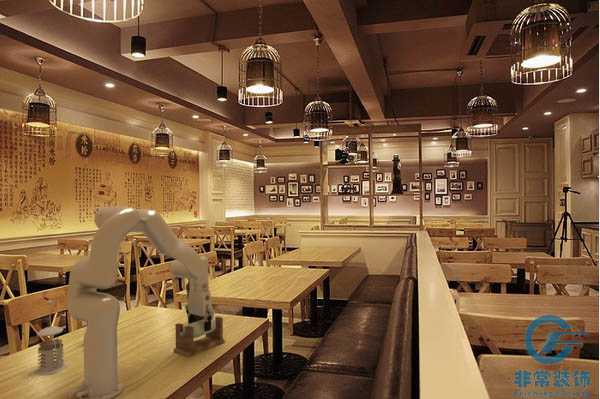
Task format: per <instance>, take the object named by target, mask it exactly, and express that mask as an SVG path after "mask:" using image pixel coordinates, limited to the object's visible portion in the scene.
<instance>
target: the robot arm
mask: <svg viewBox="0 0 600 399" xmlns="http://www.w3.org/2000/svg"><path fill="white" fill-rule="evenodd" d="M93 221H94V224H95V226H96V227H97V228H98V229H97V230H96V231H95V233H94V234H93V238H91V240H92V241H91V245H90V251H89V256H86V257H82V258H80V259H78V260H77V261H76V262H75V263H74V264H73V266H72V268H71V269H70V272H69V276H68V277H69V279H68V289H67V301H66V302H67V304H66V306H67V311H68V312H67V313H68V314H69V315H70V317H71V318H72V319H74V320H76V321H80V322H85V323H87V322H88V326H87V325H86V329H85V332H84V336H83V374H84V375H83V376H84V377H83V378H84V380H83V381H81V382H80V385H79V386H77V388H74V389H71V390H68V391H67V397H68V398H69V399H70V398H72V397H76V398H78V399H113V398H115V397H117V396H118V395H120V394H121V393H122V391H123V390H124V384H123V383H122V382H120V381H119V379H118V378H119V377H118V375H119V374H118V372H119V370H118V368H119V367H118V324H119V317H120V312H121V307H120V306H121V305H120V302H119V301H118V298H116V297H115V296H113V295H112V294H109V293H106V292H100V291H98V290H97V289H99V290H100V289H101V290H102V289H103V290H104V289H110V288H112V287H113V286H114V285H115V284H116V283H117V279H118V274H119V262H120V251H121V245H122V243H123V241H124V239H125V238H126V236H127V235H128V234H130V233H142V234H143V235H144V236H145V237H146V239H147V240H148V241H149V243H150V244H151V245H152V246H153V248H154V249H155V250H156V251H157V252H158V253H160V254H162V255H164V256H166V257H169V258H171V259H173V261H172V262H171V264H170V266H169V270H170V271H169V272H170V273H171V275H172V276H174V277H176V278H181V279H190V290H189V298H188V304H187V303H185V304H184V309H185V312H186V314H187V315H186V317H187V325H188V324H191V323H194V322H195V316H194V315H198V316H203V317H204V319H205V322H204V331H205V332H206V331H209V330H211V320H212V319H214V317H215V314H216V311H215V310H214V308H213V301H212V294H211V290H210V289H209V288H210V287H209V286H210V284H209V259H208V257H207V256H204V255H201V256H200V254H199V253H198V252H197V251H196V250H195V249H194V248H193V247H191V246H190V245H189V244H187V243H186V242H185V241H184V240H182V239H180V238H179V237H178V236H177V235H176V234H175V233H174V232H173V230H172V229H171V227H170V226H169V224H168V223H167V222H166V221H165V218H163V216H162V215H161V213H160V212H158V211H157V210H155V209H151V208H150V209H148V208H134V207H131V206H105V207H104V206H103V207H101V208H99V209H98V210H97V211H96V212H95V214H94V218H93ZM205 313H206V314H205ZM206 316H208V318H207V317H206ZM188 317H189V318H188Z"/></svg>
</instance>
